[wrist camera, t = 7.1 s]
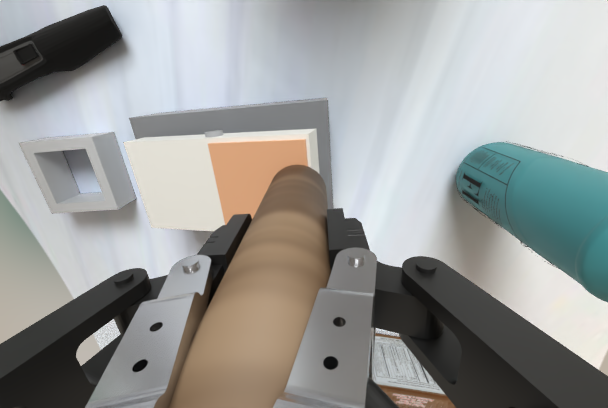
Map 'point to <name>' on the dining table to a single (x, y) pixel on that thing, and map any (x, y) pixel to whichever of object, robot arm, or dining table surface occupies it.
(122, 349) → the robot arm
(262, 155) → the rocker switch
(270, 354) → the wooden peg
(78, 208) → the holder
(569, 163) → the beverage bottle
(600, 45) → the dining table surface
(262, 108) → the switch box
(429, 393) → the tin
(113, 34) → the electric trimmer
